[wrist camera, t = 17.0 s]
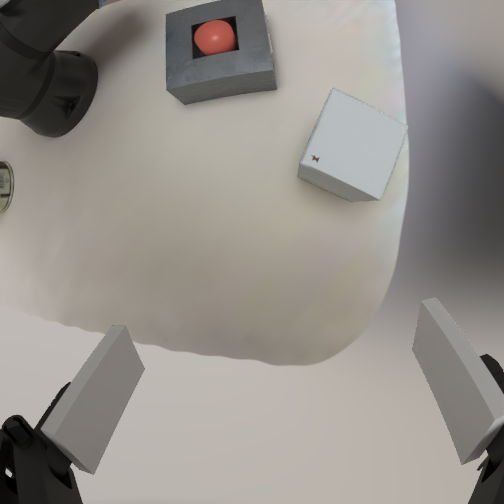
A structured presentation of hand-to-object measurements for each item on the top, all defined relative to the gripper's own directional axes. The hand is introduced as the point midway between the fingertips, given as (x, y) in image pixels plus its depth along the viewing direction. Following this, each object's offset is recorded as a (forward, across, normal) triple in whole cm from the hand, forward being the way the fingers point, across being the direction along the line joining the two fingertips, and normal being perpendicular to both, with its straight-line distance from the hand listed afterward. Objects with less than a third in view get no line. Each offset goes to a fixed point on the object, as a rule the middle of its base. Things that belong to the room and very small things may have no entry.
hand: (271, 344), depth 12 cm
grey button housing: (+30, -4, +20) cm, 36 cm away
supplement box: (+26, +8, +4) cm, 28 cm away
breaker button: (+28, -4, +20) cm, 35 cm away
